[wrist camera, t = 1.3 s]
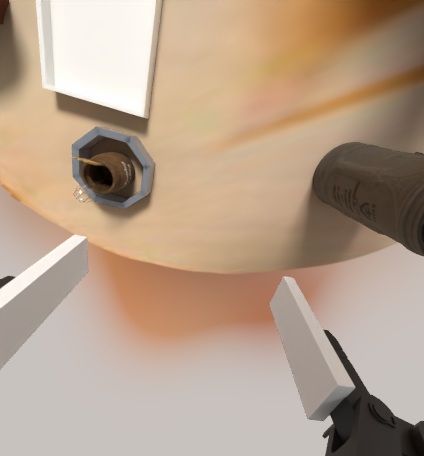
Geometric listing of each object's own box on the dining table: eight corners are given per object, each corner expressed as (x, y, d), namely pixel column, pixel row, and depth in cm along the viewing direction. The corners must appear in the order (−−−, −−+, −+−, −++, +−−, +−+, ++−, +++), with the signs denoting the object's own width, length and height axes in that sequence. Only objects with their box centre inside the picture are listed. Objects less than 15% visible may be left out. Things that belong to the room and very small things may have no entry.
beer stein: (320, 216, 38) (429, 285, 20) (299, 168, 35) (410, 199, 16) (401, 171, 36) (611, 204, 17) (387, 114, 32) (641, 77, 14)
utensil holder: (99, 179, 36) (50, 199, 25) (104, 143, 33) (51, 149, 22) (132, 190, 37) (98, 215, 26) (139, 156, 34) (104, 168, 23)
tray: (46, -68, 23) (28, -89, 21) (165, -23, 25) (160, -39, 23) (55, 90, 30) (42, 87, 28) (148, 118, 31) (143, 117, 29)
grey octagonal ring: (83, 120, 32) (70, 119, 29) (158, 142, 33) (153, 143, 30) (83, 192, 37) (73, 196, 34) (148, 208, 38) (143, 214, 35)
